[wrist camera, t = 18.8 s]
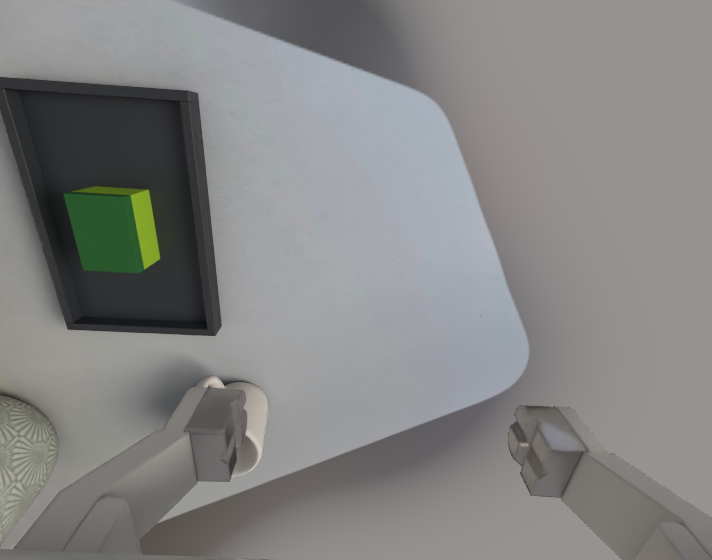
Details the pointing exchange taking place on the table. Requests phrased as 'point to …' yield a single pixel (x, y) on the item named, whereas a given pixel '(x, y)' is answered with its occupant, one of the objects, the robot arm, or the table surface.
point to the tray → (120, 170)
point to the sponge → (113, 228)
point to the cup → (255, 423)
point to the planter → (23, 459)
